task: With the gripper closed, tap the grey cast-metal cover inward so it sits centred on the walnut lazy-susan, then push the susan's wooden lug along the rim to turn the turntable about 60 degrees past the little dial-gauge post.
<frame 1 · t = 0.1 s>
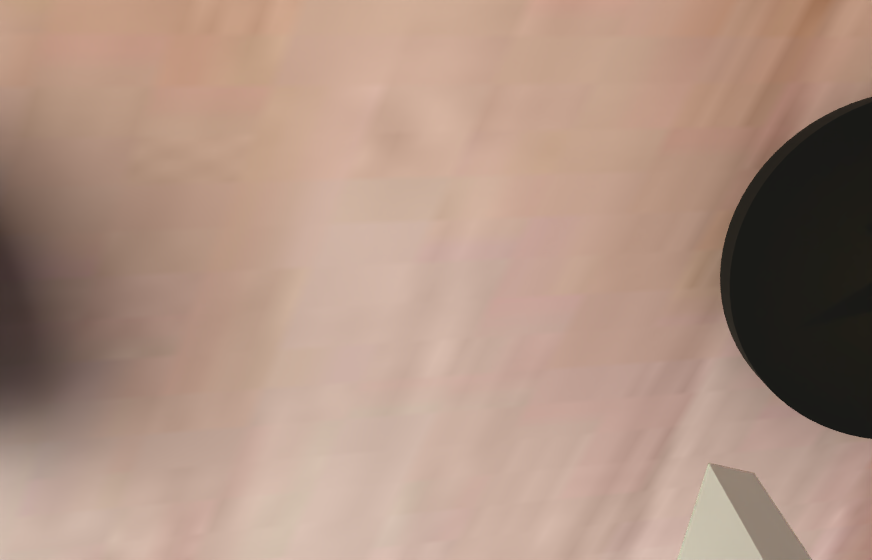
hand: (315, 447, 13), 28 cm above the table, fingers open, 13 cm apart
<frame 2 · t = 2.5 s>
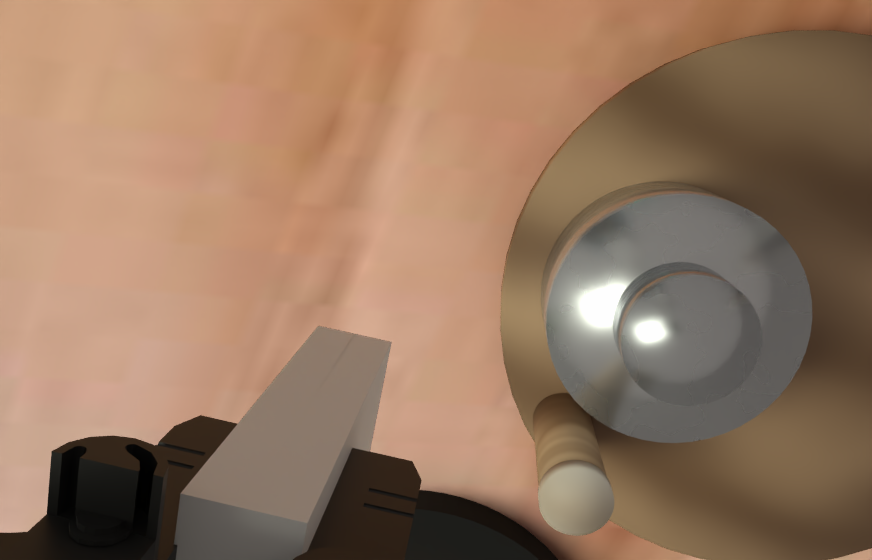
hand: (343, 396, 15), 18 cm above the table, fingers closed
cover: (654, 294, 30), point 2 cm above the table, touching turntable
turntable: (803, 341, 27), point 5 cm above the table, hinge at 0.0°, touching cover
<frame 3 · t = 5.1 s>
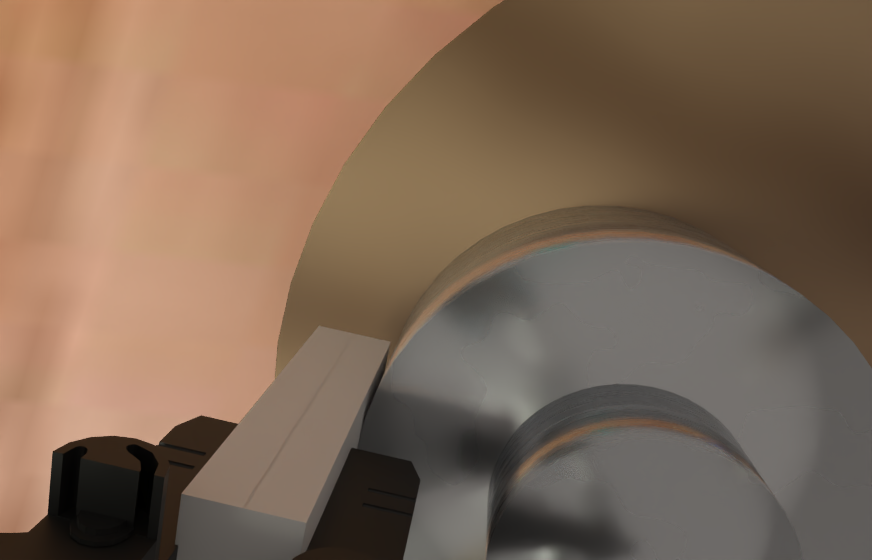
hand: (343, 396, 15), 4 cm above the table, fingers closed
cover: (591, 410, 16), point 2 cm above the table, touching gripper, turntable
turntable: (816, 511, 14), point 5 cm above the table, hinge at 0.0°, touching cover
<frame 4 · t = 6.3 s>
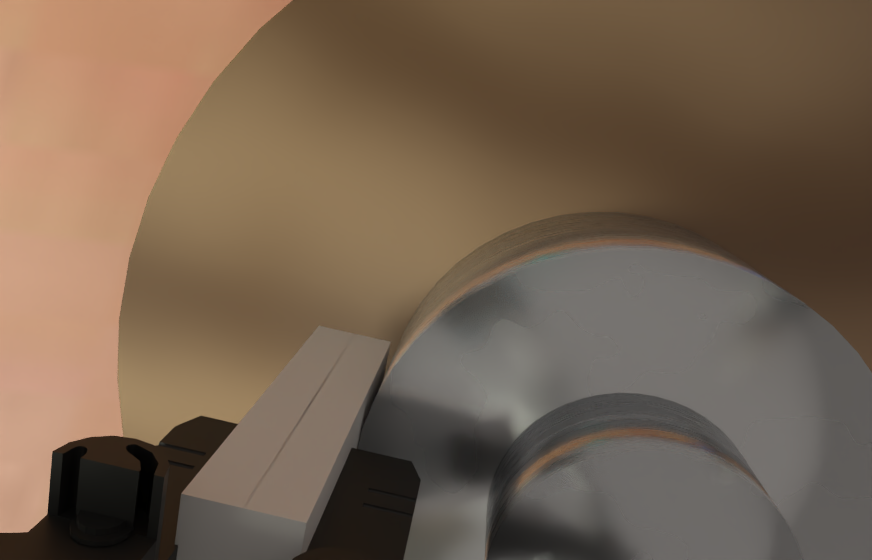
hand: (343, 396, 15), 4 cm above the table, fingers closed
cover: (592, 417, 16), point 2 cm above the table, touching turntable
turntable: (623, 485, 14), point 5 cm above the table, hinge at 0.0°, touching cover
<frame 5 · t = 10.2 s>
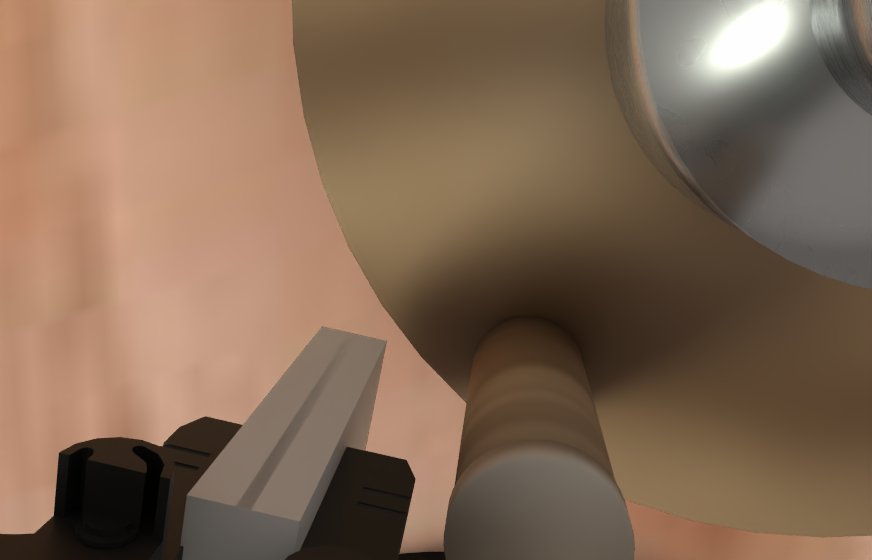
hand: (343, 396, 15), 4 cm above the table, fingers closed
cover: (849, 7, 14), point 2 cm above the table, touching turntable
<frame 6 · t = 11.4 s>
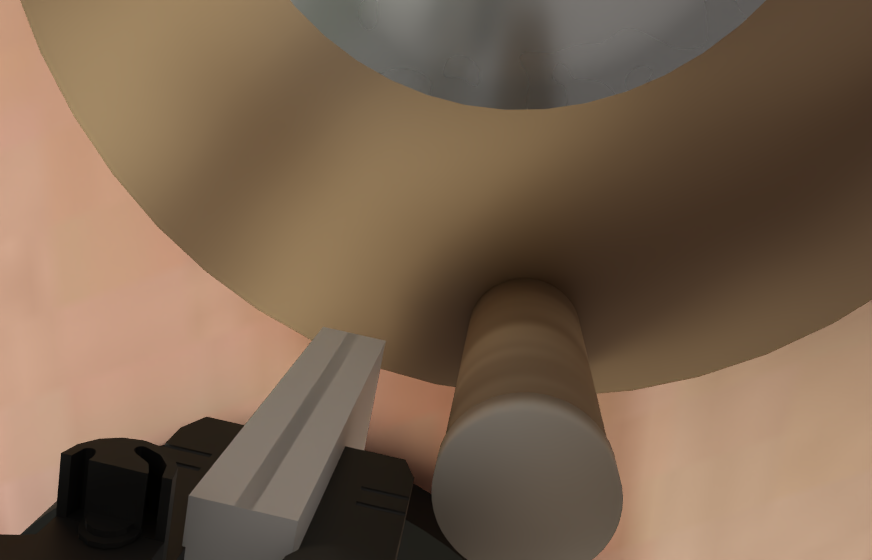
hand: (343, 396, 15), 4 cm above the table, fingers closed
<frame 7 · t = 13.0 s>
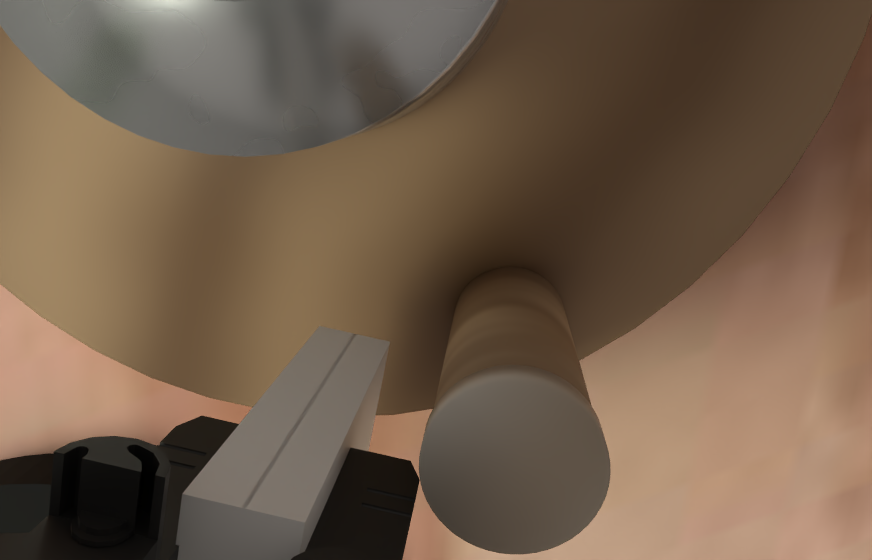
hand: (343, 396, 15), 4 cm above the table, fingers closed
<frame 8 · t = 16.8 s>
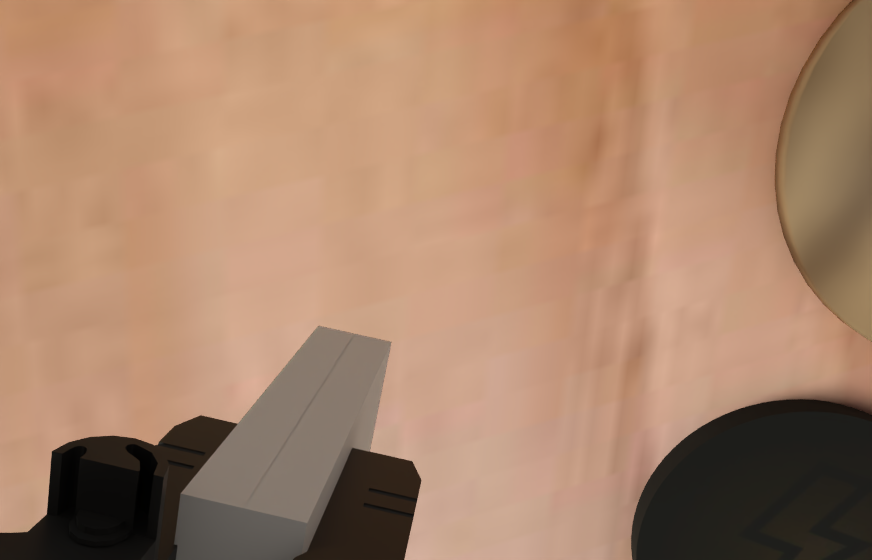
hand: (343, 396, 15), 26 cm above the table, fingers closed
wireless charger: (783, 536, 44), on the table
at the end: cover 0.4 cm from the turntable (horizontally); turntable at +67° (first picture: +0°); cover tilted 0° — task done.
